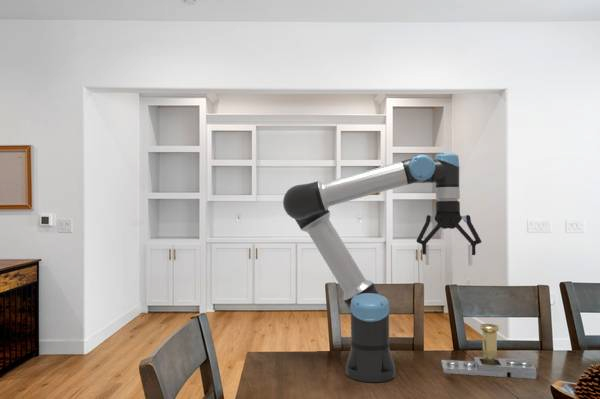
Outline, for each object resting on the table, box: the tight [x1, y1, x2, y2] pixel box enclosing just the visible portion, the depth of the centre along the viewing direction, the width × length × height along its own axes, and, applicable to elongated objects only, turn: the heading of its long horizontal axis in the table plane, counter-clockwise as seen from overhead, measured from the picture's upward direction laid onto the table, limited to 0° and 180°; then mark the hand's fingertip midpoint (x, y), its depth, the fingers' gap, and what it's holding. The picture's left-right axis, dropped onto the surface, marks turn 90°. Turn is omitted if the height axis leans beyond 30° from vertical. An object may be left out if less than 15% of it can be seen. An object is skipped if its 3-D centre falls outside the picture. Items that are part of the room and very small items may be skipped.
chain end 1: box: [440, 359, 508, 378], centre depth 141 cm, size 18×8×2 cm, turn 78°
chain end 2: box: [473, 356, 537, 380], centre depth 139 cm, size 16×8×4 cm, turn 78°
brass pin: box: [479, 323, 500, 365], centre depth 140 cm, size 5×5×14 cm
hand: (448, 265), depth 150 cm, fingers open, 13 cm apart
